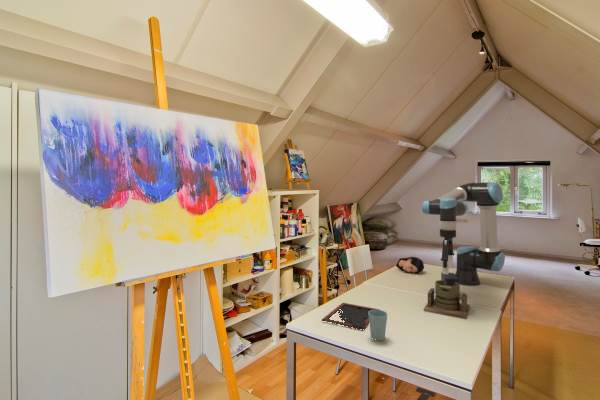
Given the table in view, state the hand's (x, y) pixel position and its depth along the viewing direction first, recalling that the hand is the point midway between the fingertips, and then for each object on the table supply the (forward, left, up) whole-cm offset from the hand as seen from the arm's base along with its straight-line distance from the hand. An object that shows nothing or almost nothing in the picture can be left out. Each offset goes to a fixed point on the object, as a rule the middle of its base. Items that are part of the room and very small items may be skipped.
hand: (447, 270), depth 165 cm
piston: (0, 0, -19) cm, 19 cm away
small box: (-22, -2, -20) cm, 30 cm away
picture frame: (+34, -37, -20) cm, 55 cm away
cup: (+49, -19, -20) cm, 56 cm away
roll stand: (0, 0, -20) cm, 20 cm away
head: (-62, -35, -20) cm, 74 cm away
